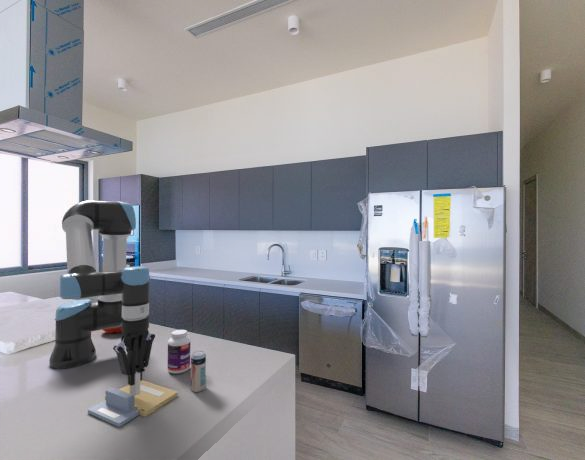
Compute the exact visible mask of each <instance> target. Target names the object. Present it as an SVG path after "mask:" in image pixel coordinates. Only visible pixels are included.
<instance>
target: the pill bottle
mask: <svg viewBox="0 0 585 460" xmlns="http://www.w3.org/2000/svg"><path fill="white" fill-rule="evenodd" d="M189 369H191V338H190V337H189V336H188V330H186V329H175V330H173V331H172V332H171V337H170V338H169V339H168V341H167V372H168V373H170V374H173V375H174V374H176V375H177V374H183V373H185V372H187V371H188V370H189Z"/></svg>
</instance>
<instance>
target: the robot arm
mask: <svg viewBox="0 0 585 460" xmlns="http://www.w3.org/2000/svg"><path fill="white" fill-rule="evenodd" d="M136 225H137V219H136V213H135V210H134V206H133V205H132V204H131V203H130V202H124V201H107V200H104V201H103V200H93V199H92V200H91V199H90V200H89V199H88V200H84V201H83V200H82V201H79V202H78V203H76V204H74V205H71V207H70V208H69V209H68V210H67V211H66V212H65V213H64V215H63V218H62V220H61V227H62V230H63V232H64V233H65V243H66V244H65V245H66V246H65V247H66V267H67V268H66V270H67V271H66V274H62V275H60V277H59V298H60V299H62V300H73V301H69V302H66V303H64V304H61V305H59V306H58V307H57V308H56V310H55V318H54V321H55V336H54V338H55V339H54V340H55V341H54V347H53V349H52V352H51V355H50V357H49V360H48V361H49V367H51V368H53V369H69V368H73V367H74V368H75V367H77V366H82V365H84V364H85V365H86V364H87V363H89V362H91V361H93V360H94V359H95V358H96V357H97V350H96V347H95V345H94V342H93V339H92V332H95V331H103V329H109V328H115V327H120V326H122V332H121V333H122V337H121V338H120V342H119V344H118V345H114V346H113V348H112V349H113V350H114V351H113V352H115V354H116V357H117V360H118V364H119V365H118V366H119V368H120V373H121V374H122V375H125V376H127V385H130V394H132V395H135V396H137V395H138V394H140V381H142V380H143V373H144V372H145V370H146V368H147V367H148V366H149V363H150V357H151V352H152V348H153V343H154V340H155V337H156V334H155V333H151V332H150V331H149V328H150V316H149V315H150V280H151V276H150V269H149V268H148V266H141V265H140V266H139V265H137V266H127V247H128V246H127V245H128V244H127V243H128V238H129V237H130V236H131V234H132V231H134V230H136V227H137V226H136ZM93 230H97V231H99V232H98V234H99V235H100V236H101V237H102V238H103V239H102V241H103V243H102V271H97V269H96V267H97V266H96V261H95V251H94V244H93V235H92V231H93ZM93 297H97V301H95V302H93V301H92V299H89V298H93ZM85 298H86V299H85Z"/></svg>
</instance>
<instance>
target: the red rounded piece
mask: <svg viewBox="0 0 585 460" xmlns="http://www.w3.org/2000/svg"><path fill="white" fill-rule="evenodd" d="M102 331H103V332H106V333H109V334H114V333H122V326H120V327H115V328H109V329H103V330H102Z"/></svg>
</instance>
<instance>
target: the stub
mask: <svg viewBox="0 0 585 460" xmlns="http://www.w3.org/2000/svg"><path fill="white" fill-rule="evenodd" d="M105 396H106V400H105V399H104V400H103V401H101V402H99V403H97V404H95V405H93V406H91V407H89V408H87V414H89V415H91V416H94V417H96V418H99V419H100V420H103V421H104V422H107V423H108V424H111V425H113V426H116V427H118V428H121V427H122V426H124V425H125V424H127V423H128V422H130V421H131V420H133V419H135V418H136V417H138V416H139V411H137V410H135V396H134V395H132V394H129V393H126V392H124V391H121V390H119V389H118V388H115V387H110V388H108V389H106V390H105Z"/></svg>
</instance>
